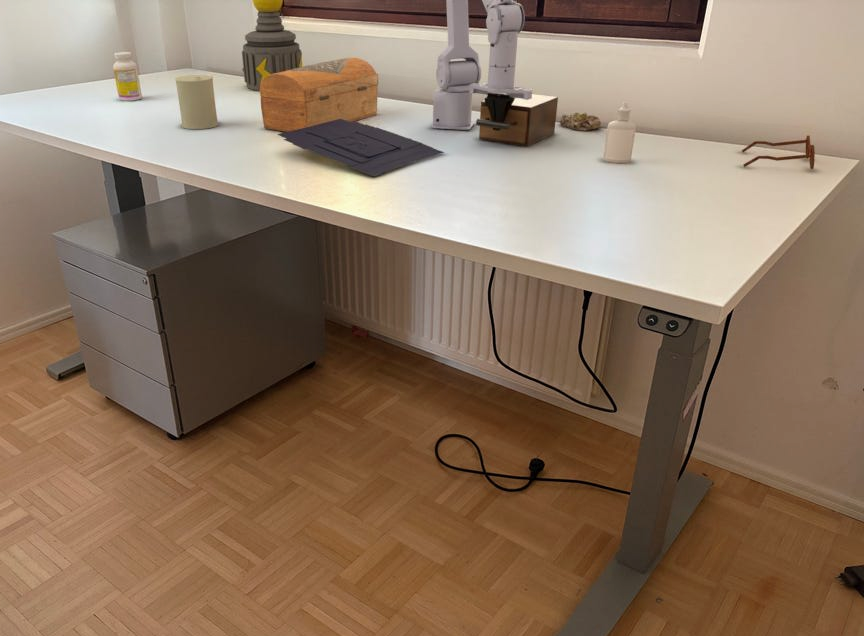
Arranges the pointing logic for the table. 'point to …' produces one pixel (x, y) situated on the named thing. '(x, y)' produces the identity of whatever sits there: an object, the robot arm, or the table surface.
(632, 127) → the eye dropper bottle
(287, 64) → the decorative lamp
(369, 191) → the table surface
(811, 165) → the glasses
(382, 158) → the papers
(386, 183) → the table surface
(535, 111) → the cabinet
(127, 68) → the supplement bottle
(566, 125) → the mineral rock
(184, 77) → the can
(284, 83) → the wooden box
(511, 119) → the drawer
